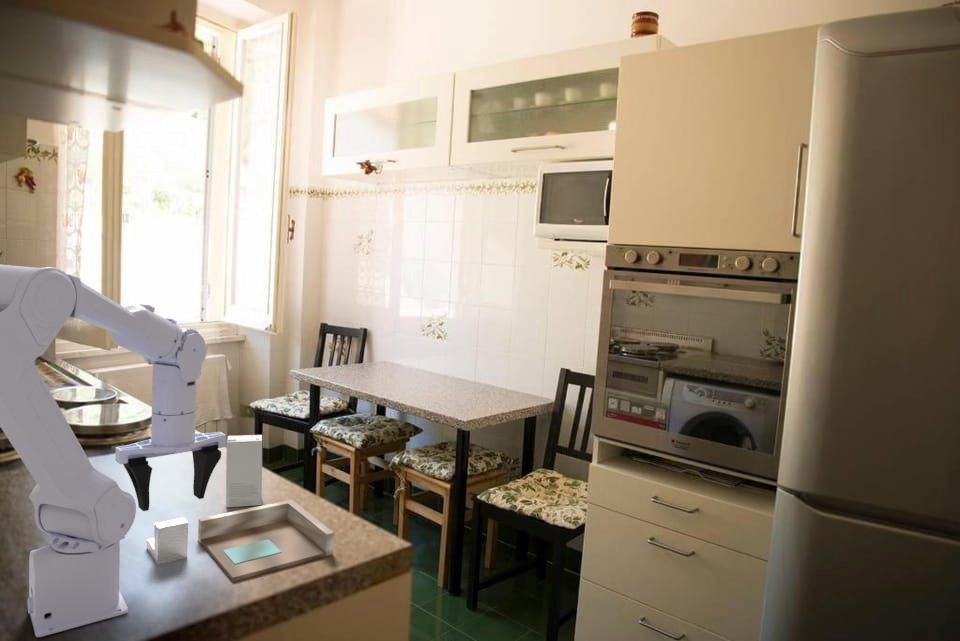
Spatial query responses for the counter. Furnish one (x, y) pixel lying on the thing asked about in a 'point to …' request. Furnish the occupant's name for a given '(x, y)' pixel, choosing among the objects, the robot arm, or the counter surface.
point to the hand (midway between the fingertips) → (172, 502)
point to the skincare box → (244, 470)
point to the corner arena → (264, 539)
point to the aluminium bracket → (169, 541)
